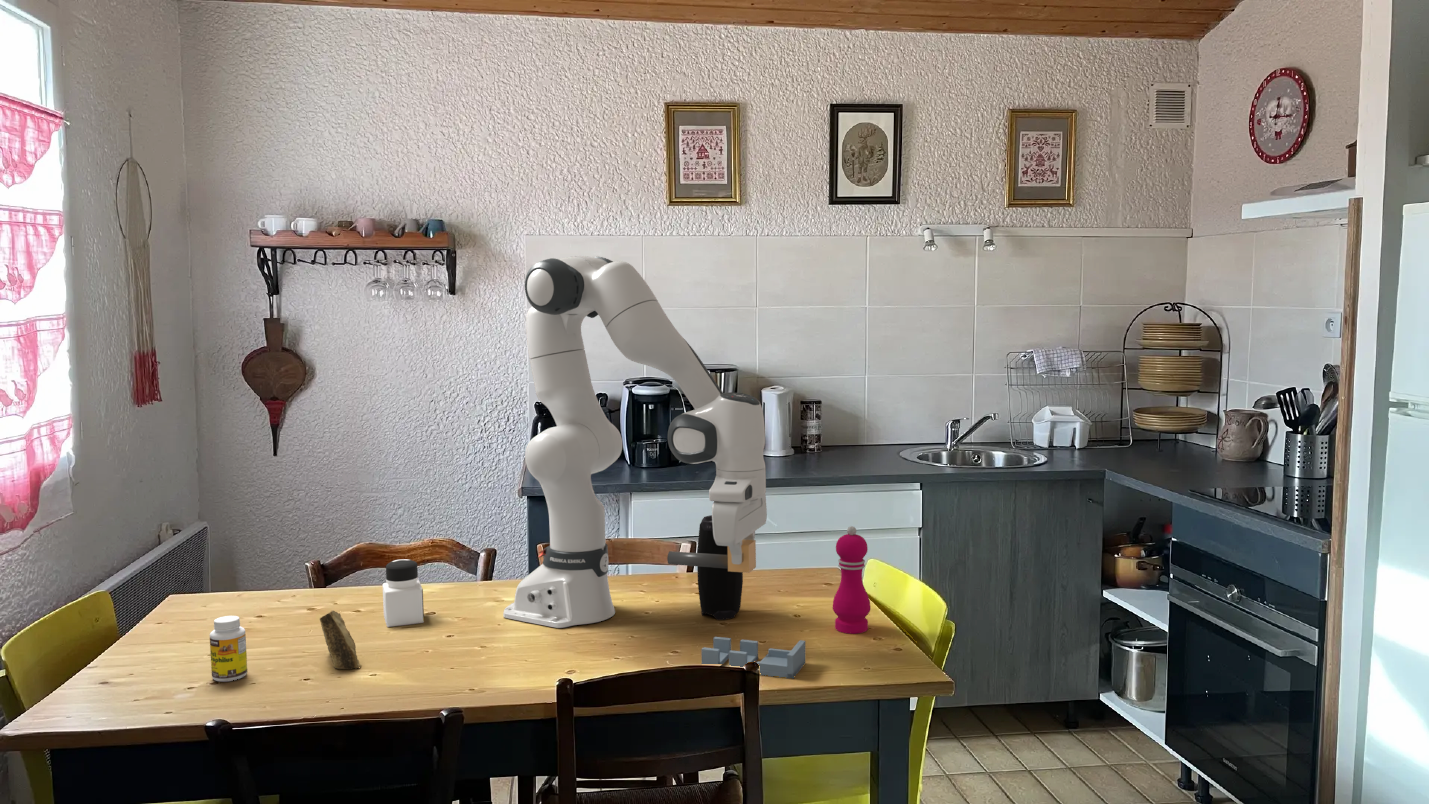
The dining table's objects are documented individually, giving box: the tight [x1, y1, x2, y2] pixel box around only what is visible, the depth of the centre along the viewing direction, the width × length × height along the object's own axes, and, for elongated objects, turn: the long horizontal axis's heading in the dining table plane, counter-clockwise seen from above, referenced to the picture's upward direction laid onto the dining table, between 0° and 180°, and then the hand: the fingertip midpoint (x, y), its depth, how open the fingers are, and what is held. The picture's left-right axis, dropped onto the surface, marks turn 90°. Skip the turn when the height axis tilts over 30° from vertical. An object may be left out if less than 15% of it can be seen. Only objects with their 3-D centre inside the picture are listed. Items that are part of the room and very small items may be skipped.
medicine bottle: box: [382, 558, 425, 628], centre depth 210 cm, size 7×7×12 cm
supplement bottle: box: [209, 615, 248, 682], centre depth 180 cm, size 6×6×10 cm
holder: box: [755, 639, 806, 680], centre depth 181 cm, size 7×8×4 cm
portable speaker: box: [696, 514, 744, 621], centre depth 211 cm, size 9×9×20 cm
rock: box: [319, 610, 362, 670], centre depth 188 cm, size 11×9×10 cm
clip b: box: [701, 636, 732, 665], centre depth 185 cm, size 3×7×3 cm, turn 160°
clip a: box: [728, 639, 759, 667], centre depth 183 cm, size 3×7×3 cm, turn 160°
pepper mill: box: [832, 525, 872, 635], centre depth 201 cm, size 7×7×20 cm
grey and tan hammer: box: [666, 539, 757, 574], centre depth 192 cm, size 16×4×5 cm, turn 70°
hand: (742, 559), depth 190 cm, fingers closed on grey and tan hammer, 4 cm apart
